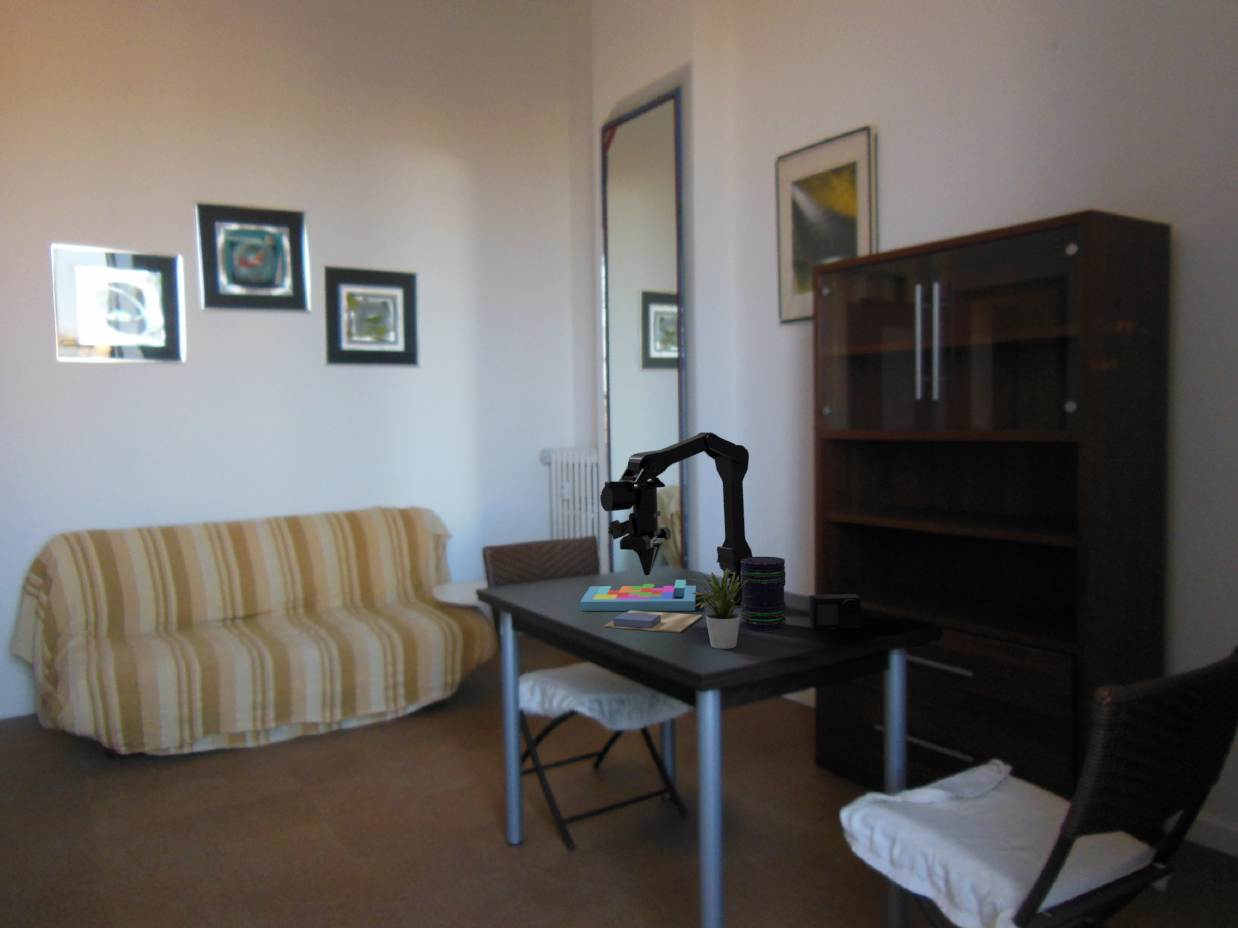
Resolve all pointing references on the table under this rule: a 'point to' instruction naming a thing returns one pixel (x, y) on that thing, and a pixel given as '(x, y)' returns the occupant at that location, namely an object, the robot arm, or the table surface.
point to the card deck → (637, 620)
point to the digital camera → (835, 611)
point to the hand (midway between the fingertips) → (647, 574)
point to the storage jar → (763, 594)
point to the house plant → (721, 611)
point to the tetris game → (640, 598)
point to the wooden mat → (664, 622)
